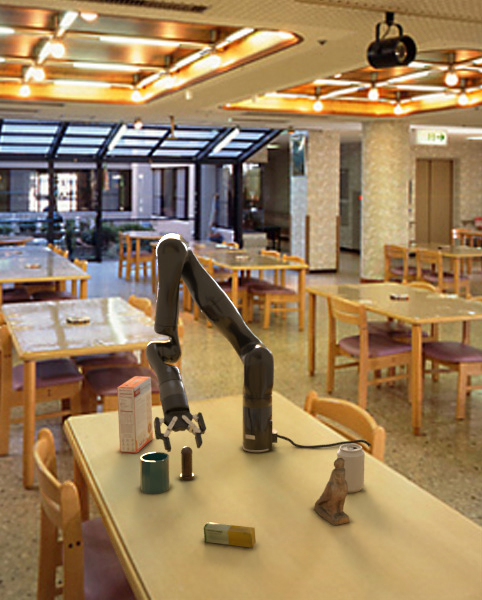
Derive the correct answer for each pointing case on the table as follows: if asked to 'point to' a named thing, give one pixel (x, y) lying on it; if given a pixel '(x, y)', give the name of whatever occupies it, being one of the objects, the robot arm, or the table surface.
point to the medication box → (229, 534)
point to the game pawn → (186, 464)
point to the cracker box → (135, 414)
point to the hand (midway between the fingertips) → (184, 448)
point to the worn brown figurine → (334, 496)
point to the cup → (154, 472)
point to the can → (353, 466)
